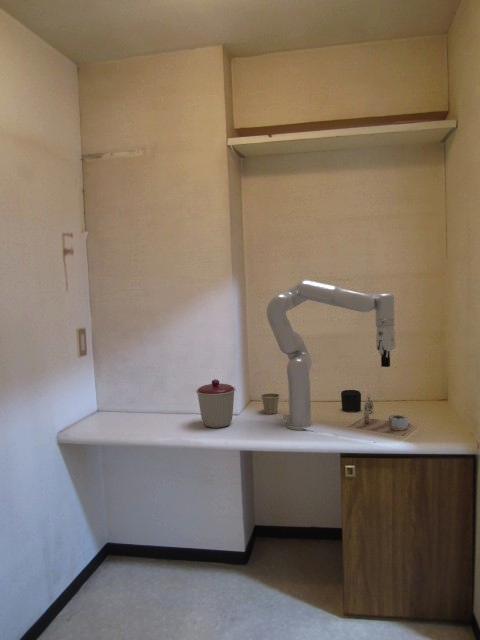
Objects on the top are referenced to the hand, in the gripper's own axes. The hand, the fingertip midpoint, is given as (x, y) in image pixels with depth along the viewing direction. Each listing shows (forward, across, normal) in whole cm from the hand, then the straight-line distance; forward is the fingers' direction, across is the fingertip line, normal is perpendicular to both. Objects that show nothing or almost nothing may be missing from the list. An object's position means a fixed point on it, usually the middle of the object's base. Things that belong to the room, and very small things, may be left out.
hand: (385, 366), depth 205 cm
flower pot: (+27, -2, +58) cm, 64 cm away
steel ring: (+25, 0, -5) cm, 26 cm away
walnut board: (+27, 0, +2) cm, 27 cm away
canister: (+27, -31, +68) cm, 80 cm away
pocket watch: (+27, +15, +12) cm, 33 cm away
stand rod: (+26, 0, +9) cm, 27 cm away
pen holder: (+27, +17, +24) cm, 40 cm away
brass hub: (+26, 0, -5) cm, 26 cm away
